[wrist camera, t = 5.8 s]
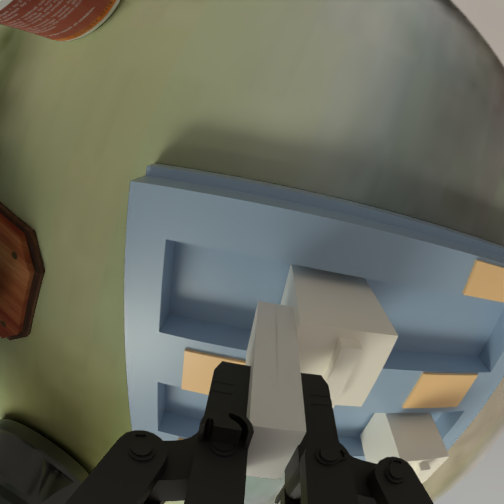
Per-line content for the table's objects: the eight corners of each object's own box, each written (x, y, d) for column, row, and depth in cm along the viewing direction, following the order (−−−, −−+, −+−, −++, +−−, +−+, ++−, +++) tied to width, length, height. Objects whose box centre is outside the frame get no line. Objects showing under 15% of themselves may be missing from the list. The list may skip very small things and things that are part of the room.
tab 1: (273, 328, 18) (275, 408, 12) (291, 262, 16) (302, 331, 11) (341, 338, 18) (364, 416, 12) (363, 276, 16) (403, 344, 11)
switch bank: (144, 416, 23) (132, 446, 20) (154, 163, 16) (129, 170, 13) (422, 443, 24) (432, 469, 21) (529, 255, 17) (557, 273, 14)
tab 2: (359, 435, 21) (373, 498, 15) (381, 401, 20) (403, 469, 14) (402, 435, 21) (420, 492, 15) (425, 402, 20) (452, 462, 14)
